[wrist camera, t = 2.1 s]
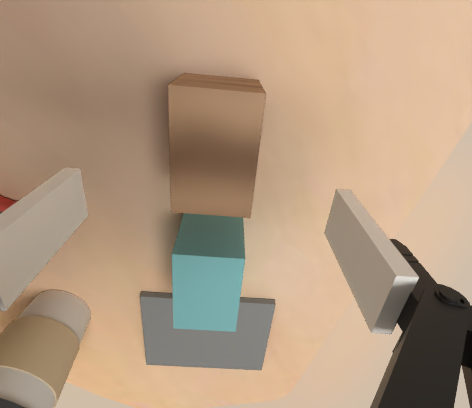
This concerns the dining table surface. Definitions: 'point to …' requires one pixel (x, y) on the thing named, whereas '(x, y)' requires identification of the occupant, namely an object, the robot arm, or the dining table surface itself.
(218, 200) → the walnut brick
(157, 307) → the mat
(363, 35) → the dining table surface
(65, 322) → the coffee cup
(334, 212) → the robot arm
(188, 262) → the teal brick
